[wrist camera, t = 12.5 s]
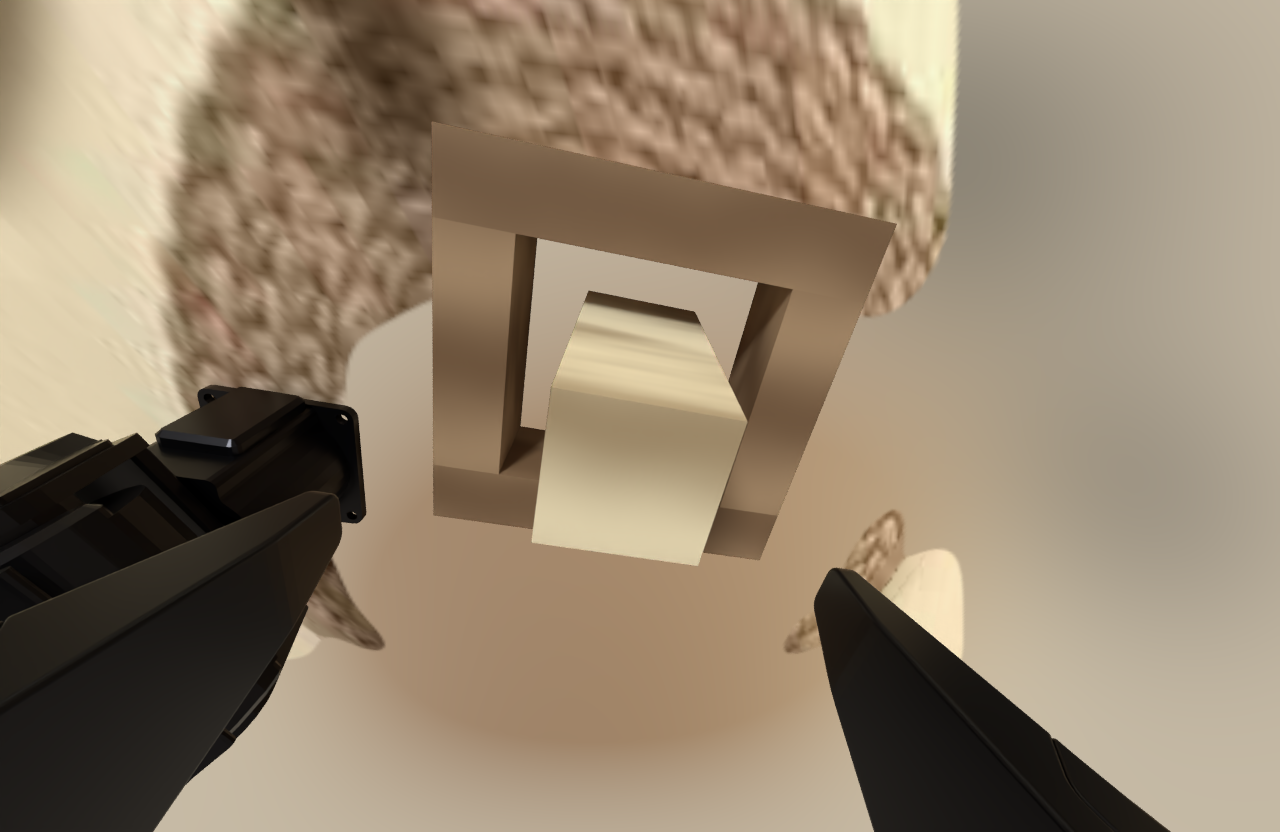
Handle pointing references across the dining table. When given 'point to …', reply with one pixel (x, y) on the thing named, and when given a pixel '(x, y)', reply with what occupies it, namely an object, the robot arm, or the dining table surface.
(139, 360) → the dining table surface
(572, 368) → the birch peg
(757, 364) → the socket block
